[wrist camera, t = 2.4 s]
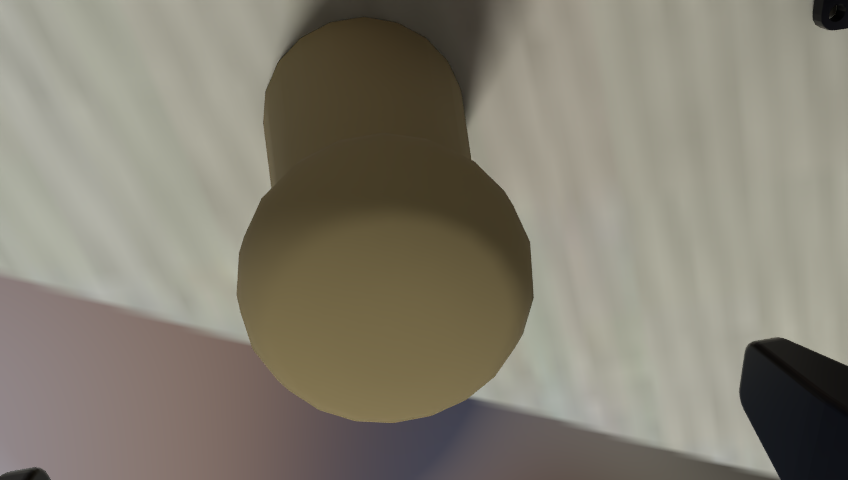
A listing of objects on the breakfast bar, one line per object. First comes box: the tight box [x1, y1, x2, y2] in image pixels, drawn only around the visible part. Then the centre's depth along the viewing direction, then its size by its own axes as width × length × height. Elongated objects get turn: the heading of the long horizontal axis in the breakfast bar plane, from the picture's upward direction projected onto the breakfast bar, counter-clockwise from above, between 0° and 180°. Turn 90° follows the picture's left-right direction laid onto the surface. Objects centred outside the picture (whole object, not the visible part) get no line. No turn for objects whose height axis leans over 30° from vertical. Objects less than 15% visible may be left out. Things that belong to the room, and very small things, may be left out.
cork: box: [237, 17, 534, 423], centre depth 15 cm, size 6×6×11 cm
